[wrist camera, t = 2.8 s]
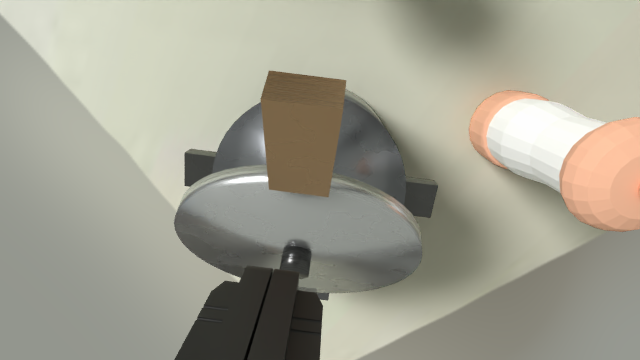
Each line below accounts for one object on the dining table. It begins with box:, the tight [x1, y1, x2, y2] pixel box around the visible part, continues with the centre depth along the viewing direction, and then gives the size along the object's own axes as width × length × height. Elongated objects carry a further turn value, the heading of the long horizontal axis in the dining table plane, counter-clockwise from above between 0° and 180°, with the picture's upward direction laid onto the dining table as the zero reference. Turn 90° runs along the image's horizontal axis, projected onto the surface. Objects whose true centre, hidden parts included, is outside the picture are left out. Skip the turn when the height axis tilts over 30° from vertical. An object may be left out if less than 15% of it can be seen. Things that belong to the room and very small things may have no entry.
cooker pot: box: [185, 89, 438, 300], centre depth 35 cm, size 22×18×10 cm
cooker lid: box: [174, 71, 422, 294], centre depth 23 cm, size 17×23×3 cm
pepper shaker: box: [469, 90, 640, 232], centre depth 28 cm, size 7×7×19 cm
